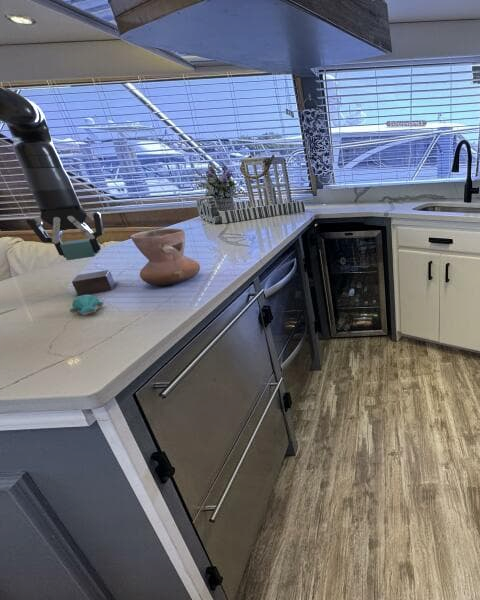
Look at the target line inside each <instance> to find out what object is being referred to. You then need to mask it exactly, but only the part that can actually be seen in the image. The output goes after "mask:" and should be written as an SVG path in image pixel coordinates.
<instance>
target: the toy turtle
mask: <svg viewBox="0 0 480 600" xmlns="http://www.w3.org/2000/svg"><path fill="white" fill-rule="evenodd" d="M104 304H105V303H104V301H101V300H100V299H99V298H97V297H96V296H95V295H92V294H86V295H80V296H77V297H76V298H74V299H73V301H72V302H71V306H72V307H71V308H70V309H69V312H70V313H72V314H75V313H77V314H79V315H81V316H86V315H90V314H94V313H95V312H96V311H97V310H98V309H100V307H103V306H104Z"/></svg>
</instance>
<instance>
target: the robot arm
mask: <svg viewBox="0 0 480 600" xmlns="http://www.w3.org/2000/svg"><path fill="white" fill-rule="evenodd" d="M0 122H2V123H4V124H6V126H7V128H8V130H9V133H10V135H11V138H12V140H13V143H12V150H13V152H14V156H15V157H16V160H17V161H18V164H19V166H20V168H21V169H22V172H23V176H24V179H25V181H26V184H27V187H28V189H29V190H30V192H31V194H32V196H33V199H34V201H35V202H36V204H37V207H38V209H39V210H40V211H39V212H40V215H39V216H36V217H30V218H27V219H26V221H25V222H26V223H27V225H28V226H29V227H30V228H31V230H32V231H33V232H34V233H35V235H36V236H37V238H38V239H39V240H40V242H42V243H49V244H53V245H54V247H55V250H56V251H57V253H58V255H59V256H61V257H63V258H65V255H64V253H63V251H62V249H61V247H60V245H61V244H62V243H64V241H62V234H63V231H68V230H79V231H80V232H81V233H83V234H84V235H85V236H86V237H87V238H88V239H90V240H89V241H90V243H91V245H92V248H93V250H94V252H95V253H97V254H99V253H100V251H101V249H102V247H101V244H100V243H99V240H98V237H100V236H101V237H102V236H103V235H104V234H105V231H104V225H103V219H102V214H101V212H99V211H96V212H88V211H86V210H85V209H83V207H82V205H81V202H80V200H79V198H78V196H77V193H76V191H75V189H74V186H73V184H72V181H71V179H70V177H69V175H68V173H67V172H66V170H65V168H64V166H63V163H62V161H61V158H60V156H59V154H58V153H57V152H58V151H56V148H55V145H54V142H53V140H52V139H53V138H52V135H51V132H50V128H49V125H48V122H47V120H46V117H45V114H44V113H43V111H42V109H41V108H40V107H39V106H38V105H37V104H36V102H33V101H32V100H31V99H29V98H27V97H25V96H23V95H21V94H19V93H17V92H15V91H13V90H11V89H9V88H7V87H5V86H3V85H2V84H0ZM87 217H88V218H89V220H91V221H92V222H93V223H94V226H95V227H94V229H95V231H93V230H92V229H91V228H90V227H89V226H88V225H87V224H86V223H85V221H86V219H87ZM43 221H44V222H45V223H47V224H48V225H50V226H51V227H52V231H51V234H52V235H51V236H49V234H48V232H47V231H46V230H45V229H44V228H43V225H44V223H43ZM65 259H66V258H65Z"/></svg>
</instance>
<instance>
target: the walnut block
mask: <svg viewBox="0 0 480 600" xmlns="http://www.w3.org/2000/svg"><path fill="white" fill-rule="evenodd" d="M71 283H72V285H73V288H74V290H75V292H76V294H77V297H79V296H81V295H92V294H96V293H101V292H107V291H112V290H113V288H114V286H115V283H116V281H115V279H114V277H113V275H112V273H111V270H110V269H105V270H101V271H95V272H89V273H83V274H78V275H76V276H75V277H74V278H73V279H72V281H71Z"/></svg>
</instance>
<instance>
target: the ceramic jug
mask: <svg viewBox="0 0 480 600" xmlns="http://www.w3.org/2000/svg"><path fill="white" fill-rule="evenodd" d="M130 238H131V240H132V242H133V244H134V245H135V246H136V248H137V249H138V250H139V252H140V253H141V254H142V255H143V256H144V257H145V258H146V259H147V260H148V261H147V263H146V264H145V265H144V266H143V267H142V268H141V269H140V271H139V278H140V279H141V280H142V281H143V282H144V283H146V284H149V285H154V286H169V285H170V286H171V285H175V284H176V285H177V284H179V283H184V282H186V281H189V280H191V279H192V278H194V277H195V276H197V275H198V274H199V272H200V270H201V265H200V263H199V262H198V261H197V260H195V259H193V258H190V257H188V256H185V254H184V252H185V245H186V232H185V229H182V228H158V229H149V230H145V231H140V232H139V231H138V232H135V233H134V234H131V235H130Z"/></svg>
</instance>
